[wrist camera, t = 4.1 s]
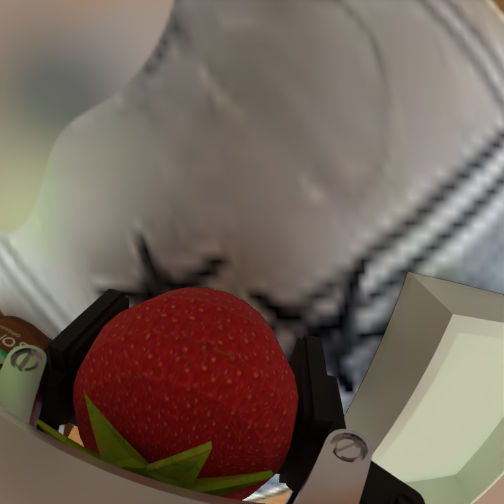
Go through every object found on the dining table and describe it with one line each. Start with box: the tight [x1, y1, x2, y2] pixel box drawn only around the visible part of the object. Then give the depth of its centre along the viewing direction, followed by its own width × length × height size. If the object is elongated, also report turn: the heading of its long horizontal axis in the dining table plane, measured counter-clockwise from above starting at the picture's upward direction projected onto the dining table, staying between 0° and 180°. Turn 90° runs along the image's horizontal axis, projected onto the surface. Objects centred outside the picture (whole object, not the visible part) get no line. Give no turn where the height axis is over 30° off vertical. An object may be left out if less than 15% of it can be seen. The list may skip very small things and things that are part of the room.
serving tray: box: [344, 272, 504, 504], centre depth 12 cm, size 15×13×4 cm
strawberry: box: [36, 287, 298, 500], centre depth 8 cm, size 6×8×10 cm
